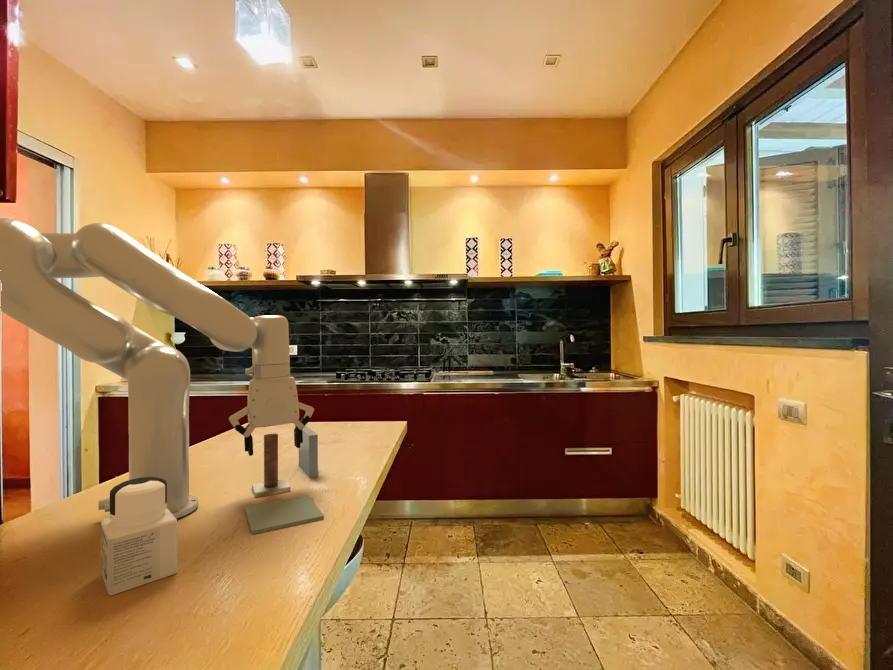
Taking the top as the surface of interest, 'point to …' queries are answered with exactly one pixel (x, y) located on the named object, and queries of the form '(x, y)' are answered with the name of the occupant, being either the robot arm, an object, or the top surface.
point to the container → (138, 535)
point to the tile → (309, 453)
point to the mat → (282, 514)
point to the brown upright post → (270, 470)
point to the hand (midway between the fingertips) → (274, 450)
